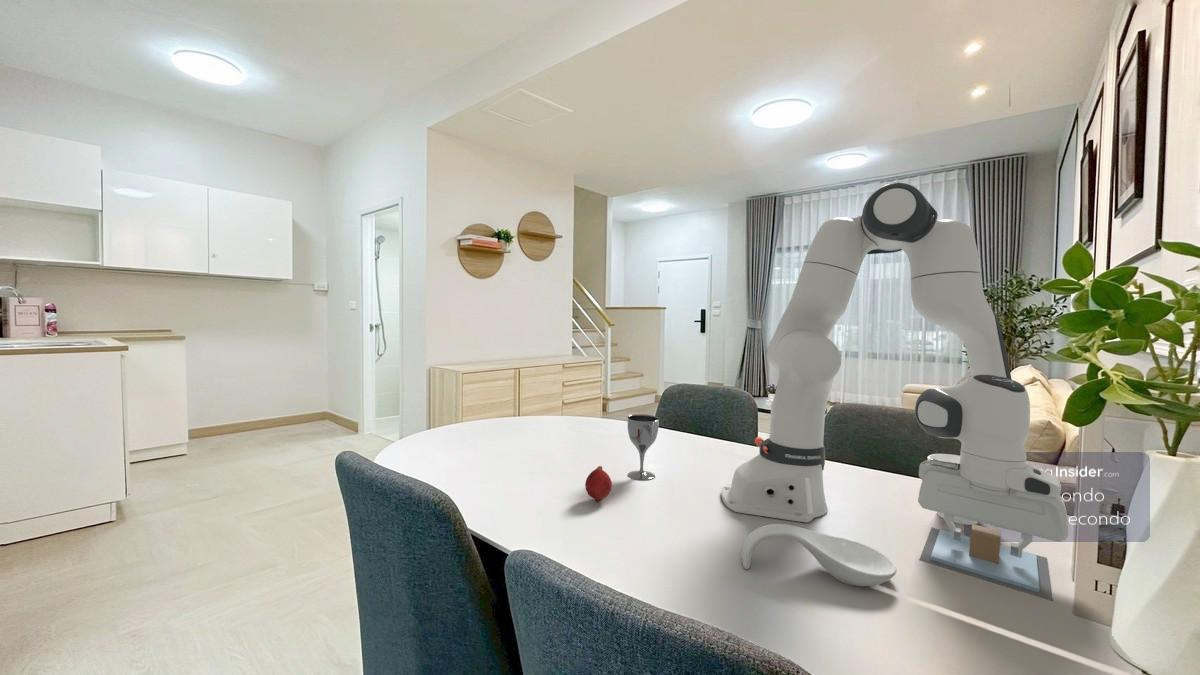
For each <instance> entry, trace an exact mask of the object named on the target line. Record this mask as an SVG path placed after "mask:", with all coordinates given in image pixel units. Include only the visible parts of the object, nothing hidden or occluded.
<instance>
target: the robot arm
mask: <svg viewBox="0 0 1200 675" xmlns="http://www.w3.org/2000/svg"><path fill="white" fill-rule="evenodd" d="M900 251H903V252H904V253H905V254H906V256H907V257H908V261H909V266H910V268H909V269H910V294H911V295H910V296H911V300H912V304H913V306H914V309H915V310H916V311H917V312H918V314H920V315H921V316H922V318H924V319H925V320H926V321H927V320H928V321H929V322H930V323H932V324H935V325H938V326H940V327H942V328H944V329H945V330H948V331H949V332H951V333H952V334H954V335H955V336H956V337H958V338H959V339H960V340H961V341H962V343H963V345H964V347H965V350H966V354H967V360H968V365H969V370H970V374H971V375H970V376H971V377H969V378H968V379H967V380H965V381H963V382H960V383H957V384H952V385H947V386H940V387H939V386H938V387H934V388H928V389H925V390H924V391H922V393H921V394H919V396H918V397H917V400H916V402H915V407H914V414H915V418H916V421H917V424H918V425H919V427H920V429H922V430H923V431H924V432H925V433H926V434H928V435H930V436H933V437H936V438H940V439H941V438H942V439H955V440H958V441H959V442H960V443H961V447H960V455H959V456H960V463H959V464H957V463H952V462H944V461H938V460H936V459H930V460H928V459H927V460H924V461H922V462H920V463H919V466H918V477H919V478H920V479H921V484H920V487H919V492H918V498H917V502H918V504H919V505H920V507H921V508H922V509H925V510H929V511H933V512H936V513H937V512H940V513H944V518H943V520H944V522H945V523H946V525H947V527H948V529H949V530H950V532H951V533H950V539H953V540H957V541H960V540H961V535H962V529H961V528H959V527H958V528H957V527H956V524H955V522H953V520H954V517H955V516H956V517H960V518H964V519H968V520H972V521H976V522H978V523H980V524H985V525H990V526H992V527H993V526H994V527H997V528H1001V529H1004V530H1010V531H1013V532H1017V533H1020V538H1021V539H1020V540H1019V541H1018V542H1017V543H1016V542H1011V543H1010V548H1011V550H1010V555H1012V556H1015V557H1019V558H1022V551H1023V550H1025V549H1026V547H1027V546H1029V545H1030V544H1031V543H1032V542H1033V537H1038V538H1041V539H1045V540H1050V541H1054V542H1058V543H1061V542H1064V541H1066V540H1068V537H1069V520H1068V519H1069V518H1068V514H1067V508H1066V504H1065V502H1064V500H1063V497H1062V496H1061V491H1062V485H1061V482H1060V480H1059V479H1058V477H1056V476H1055V475H1053V474H1051V473H1050V472H1046V471H1044V470H1042V469H1039V468H1036V467H1035V466H1033V465H1029V464H1028V463H1027V453H1026V449H1025V444H1026V440H1027V438H1028V437H1029V434H1030V422H1031V403H1030V397H1029V393H1028V390H1027V388H1026V387H1025V386H1024V385H1023V384H1021V383H1020V382H1019V381H1016V380H1014V379H1012V376H1011V375H1012V374H1011V369H1010V365H1009V361H1008V355H1007V350H1006V346H1005V340H1004V336H1003V331H1002V327H1001V323H1000V321H999V317H998V315H997V313H996V311H994V310H993V308H992V307H991V306H990V304H989V302H988V300H987V297H986V295H985V293H984V288H983V285H982V277H981V264H980V256H979V251H978V246H977V242H976V238H975V236H974V232H973V230H972V227H970V226H969V225H968V223H966V222H963V221H960V220H956V219H938V212H937V210H936V209H935V208H934V207H933V205H931V203H930V202H929V201H928V199H927V198H926V197H925V196H924V194H923V192H921V191H920V189H918V188H916V187H915V186H913V185H912V184H909V183H904V182H893V183H888V184H885V185H884V186H882V187H880V188H878V189H876V190H875V191H874V192H872V193H871V195H870V196H869V197H868V198H867V200H866V201H865V203H864V205H863V208H862V214H861V215H858V216H857V217H852V218H849V217H841V216H840V217H833V218H830V219H828V220H826V221H824V222H823V223H822V224H821V226H819V228H818V230H817V232H816V234H815V236H814V237H813V240H812V241H811V244H810V246H809V248H808V251H807V253H806V255H805V258H804V260H803V263H802V265H801V266H802V267H801V270H800V273H799V275H798V278H797V281H796V284H795V287H794V290H793V293H792V295H791V298H790V300H789V302H788V304H787V306H786V309H785V310H784V312H783V314H782V316H781V318H780V320H779V322H778V325H777V327H776V329H775V331H774V334H773V336H772V338H771V339H770V341H769V343H768V345H767V357H768V361H769V363H770V364H771V366H772V367H773V368H774V369H775V370H776V371H777V372H778V378H777V384H776V389H775V393H774V396H773V400H772V402H771V404H770V421H769V437H768V438H766V439H763V438H762V437H760V436H756V437H755V439H754V444H755V445H756V447H757V448H759V451H758V452H759V454H757V455H755V456H754V457H753V458H751V459H750V460H747V461H746V462H744V463H742V464H741V465H738V467H737V468H736V469H735V470H734V473H733V477H732V481H731V484H725V485H724V486H723V487H722V488H721V493H720V496H721V500H722V502H723V504H724V505H725V506H726V507H728V509H730V510H731V511H733V512H736V513H739V514H740V513H741V514H747V515H751V516H759V517H760V516H761V517H766V518H767V517H768V518H774V519H781V520H786V521H793V522H800V523H801V522H802V523H811V521H812V520H813V519H815V518H818V517H822V516H824V515H826V514H827V513H828V511H829V510H828V504H827V500H826V496H825V490H824V489H825V488H824V479H823V477H824V476H823V475H824V473H823V471H825V464H826V445H824V437H825V436H824V434H825V419H826V417H825V416H826V409H827V404H828V400H829V397H830V393H831V390H832V386H833V383H834V379H835V377H836V376H837V374H838V372H839V371H840V368H841V365H842V356H841V352H840V350H839V348H838V347H837V345H836V344H835V343H834V342H833V341H832V340H831V339H830V338H829V335H830V333H831V332H832V330H833V328H834V327H835V326H836V323H837V322H838V321H839V319H840V318H841V317H842V316H843V315H844V313H845V312H846V311H847V310H846V309H847V306H848V305H849V301H850V299H851V297H852V296H851V295H852V293H853V289H854V287H855V284H856V281H857V278H858V276H859V273H860V269H861V266H862V263H863V262H864V259H865V257H866V256H867V255H873V254H874V255H876V254H892V253H898V252H900ZM942 466H943V467H942ZM958 469H959V470H958ZM958 471H959V472H958Z"/></svg>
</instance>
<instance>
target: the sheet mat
mask: <svg viewBox="0 0 1200 675" xmlns="http://www.w3.org/2000/svg"><path fill="white" fill-rule="evenodd" d="M939 531H940V528H936V527H931V528H930V530H929V533H928V535H927V539H926V541H925V543H924V546H923V549H922V550H921V555H920V557H919V558H918V560H919V561H921V562H924V563H927V564H931V565H934V566H937V567H941V568H944V569H947V570H950V571H953V572H957V573H960V574H964V575H966V576H970V577H973V578H976V579H980V580H982V581H986V582H990V583H992V584H996V585H999V586H1002V587H1005V588H1008V589H1013V590H1016V591H1018V592H1023V593H1025V594H1029V595H1032V596H1035V597H1039V598H1042V599H1044V600H1049V601H1052V602H1053V601H1054V598H1053V590H1052V583H1051V578H1050V568H1049V563H1048V557H1045V556H1042V555H1038V554H1036V557H1037V567H1038V578H1039V588H1040V589H1039V592H1036V591H1033V590H1029V589H1026V588H1023V587H1019V586H1016V585H1013V584H1010V583H1006V582H1003V581H1000V580H996V579H993V578H990V577H986V576H983V575H980V574H976V573H973V572H970V571H967V570H963V569H960V568H957V567H953V566H950V565H947V564H943V563H940V562H937V561H933V560H931V555H932V552H933V549H934V546H935V543H936V540H937V537H938V534H939Z"/></svg>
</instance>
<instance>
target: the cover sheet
mask: <svg viewBox="0 0 1200 675" xmlns="http://www.w3.org/2000/svg"><path fill="white" fill-rule="evenodd" d="M939 529H940V528H939ZM950 533H951V531H948V530H944V529H940V531H939V534H938V537H937V540H936V543H935V546H934V549H933V552H932V555H931V560H933V561H937V562H940V563H943V564H947V565H950V566H953V567H957V568H960V569H963V570H967V571H970V572H973V573H976V574H980V575H983V576H986V577H990V578H993V579H996V580H1000V581H1003V582H1006V583H1010V584H1013V585H1016V586H1019V587H1023V588H1026V589H1029V590H1033V591H1036V592H1039V589H1040V588H1039V578H1038V567H1037V557H1036V555H1037V554H1034V553H1031V552H1028V551H1024V550H1022V558H1019V557H1015V556H1012V555H1010V550H1011V547H1010V546H1009V547H1008V546H1005V545H1001V540H1002V539H1001V538H1002V530H998V529H995V528H990V527H986V526H983V525H982V526H981V525H978V524H972V525H971V529H970V536H968V535H963V534H961V540H960V541H957V540H953V539H950Z"/></svg>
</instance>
